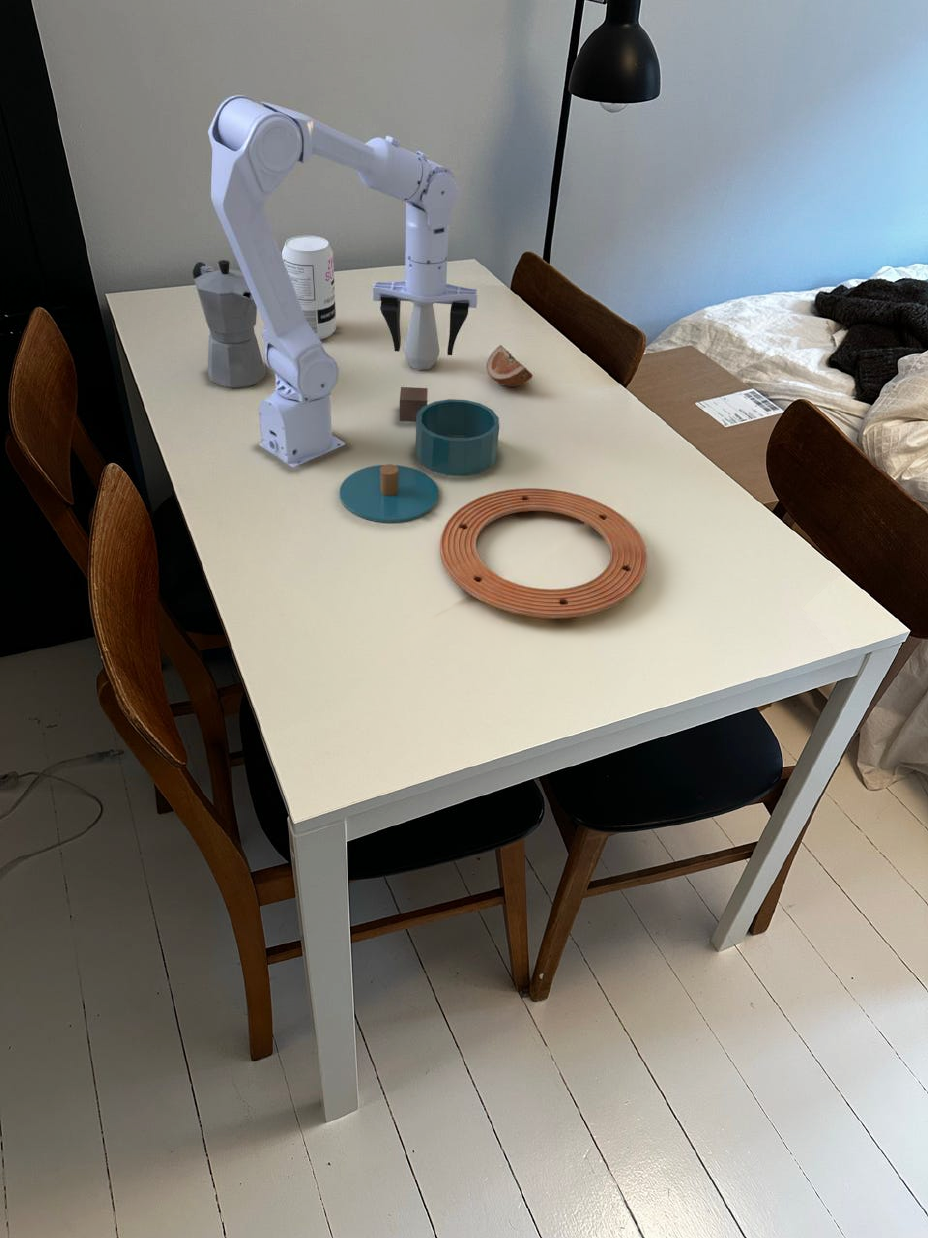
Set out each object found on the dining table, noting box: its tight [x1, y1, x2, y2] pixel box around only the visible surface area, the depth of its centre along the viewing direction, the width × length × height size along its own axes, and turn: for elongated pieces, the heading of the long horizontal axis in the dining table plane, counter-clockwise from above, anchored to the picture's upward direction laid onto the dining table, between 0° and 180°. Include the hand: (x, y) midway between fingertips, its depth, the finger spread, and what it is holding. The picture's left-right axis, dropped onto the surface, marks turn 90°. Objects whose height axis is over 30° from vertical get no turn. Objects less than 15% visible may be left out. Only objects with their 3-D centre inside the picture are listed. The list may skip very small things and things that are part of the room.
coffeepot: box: [192, 259, 267, 389], centre depth 142 cm, size 15×9×18 cm, turn 44°
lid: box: [339, 463, 439, 524], centre depth 122 cm, size 13×13×4 cm
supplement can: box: [281, 235, 337, 340], centre depth 155 cm, size 8×8×15 cm
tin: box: [414, 398, 500, 477], centre depth 130 cm, size 11×11×6 cm
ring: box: [439, 487, 648, 620], centre depth 114 cm, size 25×25×2 cm
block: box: [399, 386, 429, 422], centre depth 139 cm, size 4×4×4 cm
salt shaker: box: [403, 301, 441, 371], centre depth 149 cm, size 6×6×13 cm
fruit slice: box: [486, 344, 533, 387], centre depth 148 cm, size 8×7×5 cm
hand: (423, 350), depth 136 cm, fingers open, 7 cm apart
